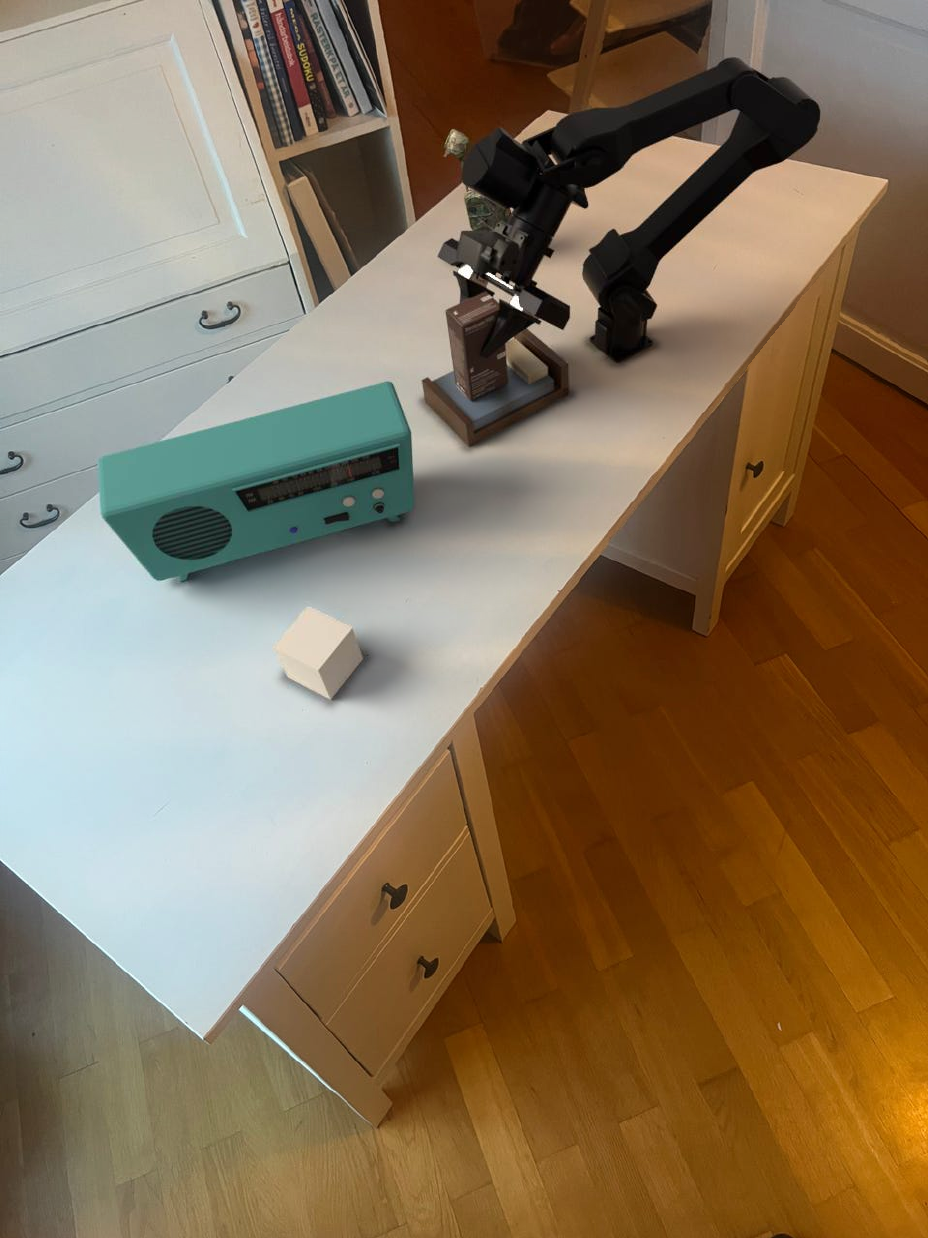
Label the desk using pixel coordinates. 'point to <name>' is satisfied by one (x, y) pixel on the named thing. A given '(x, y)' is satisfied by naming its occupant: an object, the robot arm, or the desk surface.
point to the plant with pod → (477, 206)
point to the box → (475, 346)
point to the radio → (260, 482)
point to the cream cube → (318, 652)
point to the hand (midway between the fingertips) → (470, 347)
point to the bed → (467, 424)
